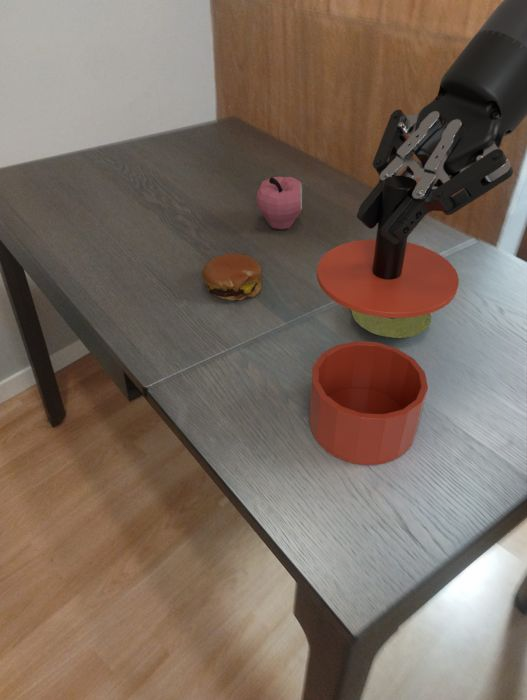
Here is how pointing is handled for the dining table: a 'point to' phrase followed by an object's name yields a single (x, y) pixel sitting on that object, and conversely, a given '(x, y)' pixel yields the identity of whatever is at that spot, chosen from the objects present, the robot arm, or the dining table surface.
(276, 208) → the apple
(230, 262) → the burger
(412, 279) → the cooker lid
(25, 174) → the dining table surface
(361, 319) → the mat
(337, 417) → the cup
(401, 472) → the dining table surface
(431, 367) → the dining table surface
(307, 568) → the dining table surface
